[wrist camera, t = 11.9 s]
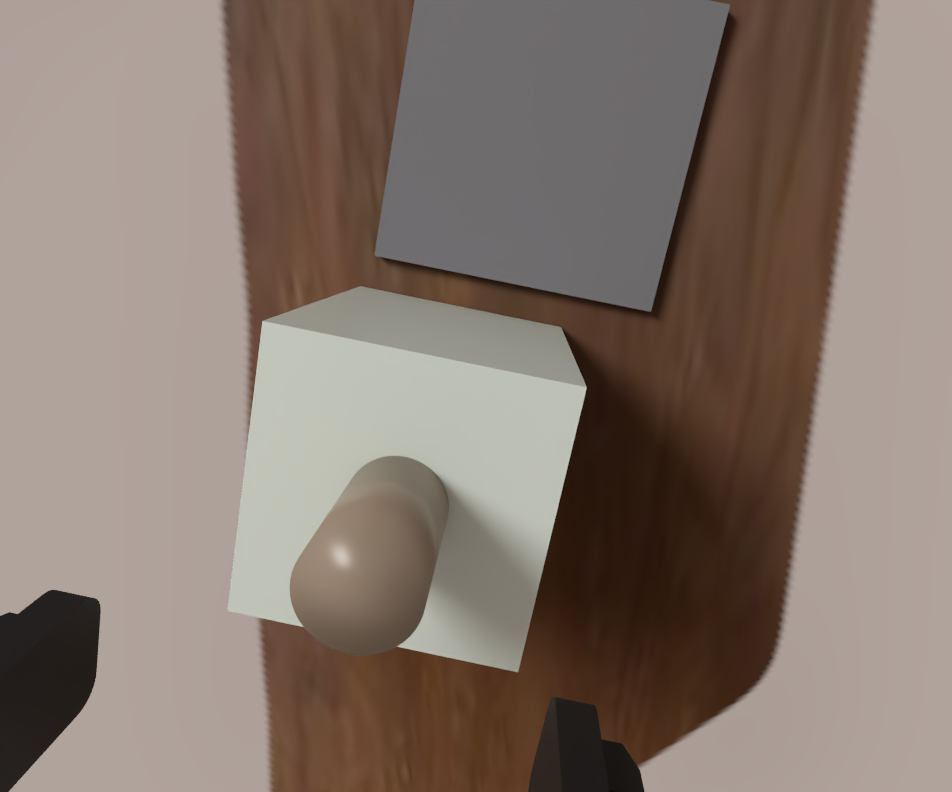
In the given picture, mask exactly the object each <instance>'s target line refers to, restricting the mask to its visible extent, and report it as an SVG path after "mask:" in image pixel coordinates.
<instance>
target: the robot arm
mask: <svg viewBox="0 0 952 792" xmlns="http://www.w3.org/2000/svg"><path fill="white" fill-rule="evenodd" d="M99 626H100V604H99V601H98V600H97V599H95V598H90V597H86V596H80V595H76V594H71V593H67V592H62V591H57V590H50V591H48V592H46V593H45V594H43V595H42V596H41V597H39V598H38V599H37V600H35V601H34V602H33V603H32V604H30V605H29V606H28V607H26V608H25V609H24V610H23V611H21V612H20V613H19V614H14V613H10V612H9V613H7V614H4V615H2V616H0V792H9V790H10V789H11V788H12V787H13V786H14V785H15V784H16V783H17V781H18V780H19V779H20V778H21V777H22V776H23V775H24V774H25V773H26V772H27V771H28V769H29V768H30V767H31V766H32V765H33V764H34V763H35V762H36V761H37V759H38V758H39V757H40V756H41V755H42V754H43V753H44V751H46V749H47V748H48V747H49V746H50V745H51V744H52V743H53V742H54V740H56V738H57V737H58V736H59V735H60V734H61V733H62V732H63V731H64V729H65V728H66V727H67V726H68V725H69V724H70V723H71V722H72V721H73V719H74V718H75V717H76V716H77V715H78V714H79V713H80V711H81V710H82V709H83V707H84V705H85V704H86V702H87V700H88V698H89V696H90V694H91V691H92V688H93V686H94V682H95V678H96V668H97V655H98V639H99ZM528 792H644V788H643V783H642V779H641V774H640V770H639V768H638V767H637V765H636V764H635V762H634V761H633V759H632V758H631V756H630V755H629V753H628V752H627V750H626V749H625V747H624V746H623V744H621V743H616V742H611V741H607V740H602V739H601V734H600V728H599V722H598V715H597V710H596V707H595V706H594V705H590V704H586V703H581V702H576V701H571V700H567V699H562V698H557V697H552V698H551V700H550V703H549V706H548V710H547V714H546V717H545V721H544V725H543V729H542V733H541V737H540V740H539V744H538V748H537V752H536V756H535V760H534V764H533V768H532V772H531V777H530V783H529V790H528Z"/></svg>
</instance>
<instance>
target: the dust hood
mask: <svg viewBox="0 0 952 792" xmlns="http://www.w3.org/2000/svg"><path fill="white" fill-rule="evenodd" d="M586 389H587V387H586V384H585V382H584V380H583V377H582V375H581V373H580V370H579V368H578V366H577V363H576V361H575V359H574V356H573V354H572V352H571V349H570V347H569V345H568V342H567V340H566V338H565V335H564V333H563V331H562V328H561V327H558V326H553V325H548V324H543V323H538V322H533V321H528V320H523V319H518V318H514V317H509V316H504V315H499V314H494V313H489V312H484V311H479V310H474V309H469V308H465V307H460V306H455V305H450V304H445V303H440V302H435V301H430V300H425V299H420V298H416V297H411V296H406V295H401V294H396V293H391V292H386V291H381V290H376V289H371V288H367V287H362V286H360V287H357V288H354V289H351V290H348V291H346V292H343V293H340V294H337V295H334V296H332V297H329V298H326V299H323V300H320V301H317V302H315V303H312V304H309V305H306V306H303V307H300V308H298V309H295V310H292V311H289V312H286V313H284V314H281V315H278V316H275V317H272V318H269V319H267V320H264V321H263V322H262V330H261V339H260V347H259V355H258V363H257V371H256V380H255V388H254V396H253V404H252V412H251V421H250V429H249V437H248V445H247V453H246V462H245V470H244V478H243V486H242V494H241V495H242V496H241V503H240V511H239V519H238V527H237V535H236V544H235V552H234V560H233V568H232V577H231V585H230V594H229V601H228V609H227V610H228V611H230V612H235V613H240V614H245V615H249V616H254V617H259V618H264V619H268V620H273V621H278V622H283V623H287V624H292V625H297V626H302V627H304V628H305V629H306V630H307V631H308V632H309V633H310V634H311V635H312V636H313V637H314V638H315V639H316V640H318V641H319V642H321V643H322V644H324V645H326V646H328V647H329V648H332V649H334V650H337V651H339V652H343V653H347V654H353V655H374V654H378V653H383V652H386V651H388V650H391V649H393V648H395V647H401V648H406V649H411V650H415V651H420V652H425V653H430V654H434V655H439V656H444V657H449V658H453V659H458V660H463V661H468V662H472V663H477V664H482V665H487V666H491V667H496V668H501V669H505V670H510V671H515V672H518V670H519V666H520V662H521V658H522V654H523V650H524V645H525V641H526V637H527V633H528V629H529V625H530V621H531V617H532V612H533V608H534V604H535V600H536V596H537V592H538V588H539V583H540V579H541V575H542V571H543V567H544V563H545V559H546V554H547V550H548V546H549V542H550V538H551V534H552V530H553V526H554V521H555V517H556V513H557V509H558V505H559V501H560V497H561V492H562V488H563V484H564V480H565V476H566V472H567V468H568V463H569V459H570V455H571V451H572V447H573V443H574V439H575V435H576V430H577V426H578V422H579V418H580V414H581V410H582V406H583V401H584V397H585V393H586Z"/></svg>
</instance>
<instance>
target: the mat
mask: <svg viewBox="0 0 952 792" xmlns="http://www.w3.org/2000/svg"><path fill="white" fill-rule="evenodd" d="M729 8H730V4H725V3H719V2H714V1H709V0H415V2H414V8H413V14H412V21H411V27H410V33H409V40H408V46H407V52H406V59H405V65H404V71H403V78H402V84H401V90H400V97H399V103H398V109H397V116H396V122H395V128H394V135H393V141H392V147H391V154H390V160H389V166H388V173H387V179H386V185H385V192H384V198H383V204H382V211H381V217H380V223H379V230H378V236H377V242H376V249H375V255H374V256H379V257H384V258H388V259H393V260H398V261H403V262H408V263H413V264H418V265H423V266H428V267H433V268H438V269H442V270H447V271H452V272H457V273H462V274H467V275H472V276H477V277H482V278H487V279H492V280H496V281H501V282H506V283H511V284H516V285H521V286H526V287H531V288H536V289H541V290H546V291H550V292H555V293H560V294H565V295H570V296H575V297H580V298H585V299H590V300H595V301H600V302H604V303H609V304H614V305H619V306H624V307H629V308H634V309H639V310H644V311H649V312H651V310H652V306H653V302H654V298H655V294H656V290H657V287H658V283H659V279H660V275H661V271H662V267H663V263H664V259H665V256H666V252H667V248H668V244H669V240H670V236H671V232H672V228H673V225H674V221H675V217H676V213H677V209H678V205H679V201H680V197H681V194H682V190H683V186H684V182H685V178H686V174H687V170H688V166H689V163H690V159H691V155H692V151H693V147H694V143H695V139H696V135H697V132H698V128H699V124H700V120H701V116H702V112H703V108H704V104H705V101H706V97H707V93H708V89H709V85H710V81H711V77H712V73H713V70H714V66H715V62H716V58H717V54H718V50H719V46H720V42H721V39H722V35H723V31H724V27H725V23H726V19H727V15H728V11H729Z"/></svg>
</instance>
